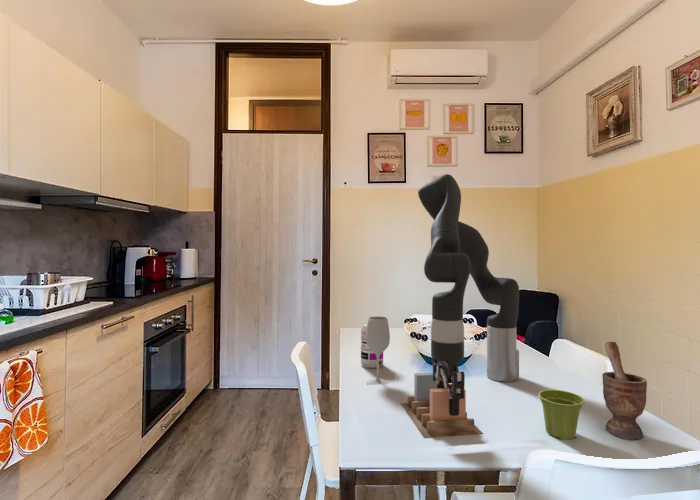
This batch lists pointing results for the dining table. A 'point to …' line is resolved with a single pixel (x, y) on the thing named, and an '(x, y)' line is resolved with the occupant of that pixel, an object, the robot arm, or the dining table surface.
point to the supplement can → (368, 352)
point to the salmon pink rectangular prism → (444, 405)
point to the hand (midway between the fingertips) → (447, 408)
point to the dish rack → (441, 428)
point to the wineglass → (377, 341)
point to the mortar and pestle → (623, 397)
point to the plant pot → (561, 412)
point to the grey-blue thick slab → (423, 386)
